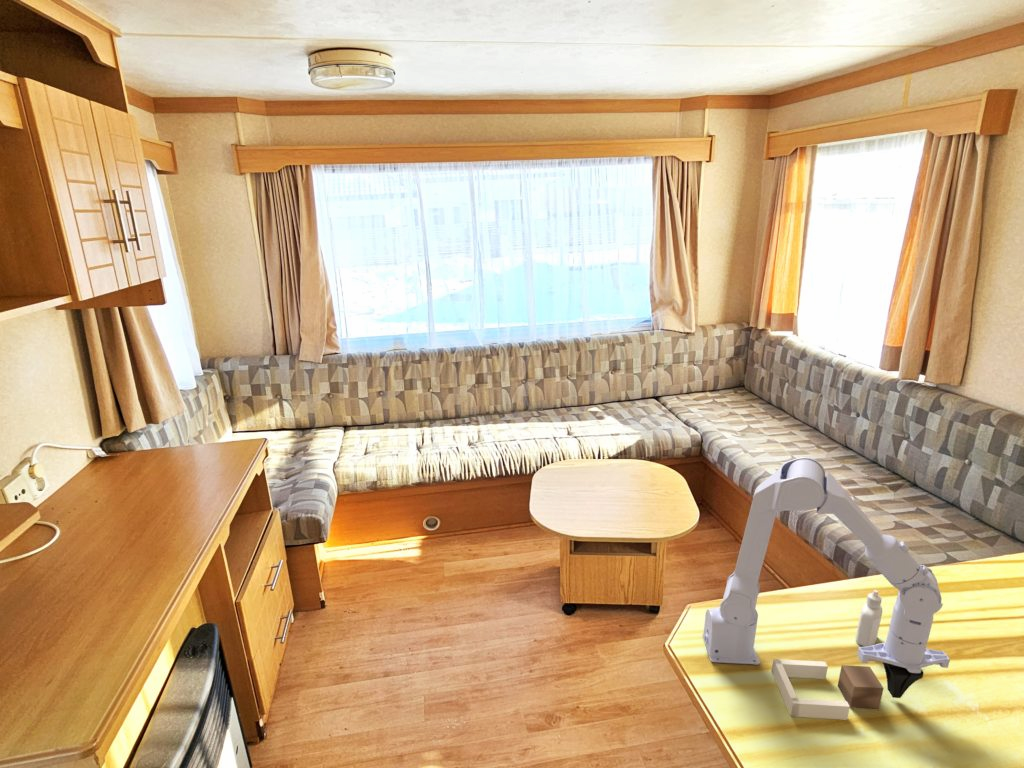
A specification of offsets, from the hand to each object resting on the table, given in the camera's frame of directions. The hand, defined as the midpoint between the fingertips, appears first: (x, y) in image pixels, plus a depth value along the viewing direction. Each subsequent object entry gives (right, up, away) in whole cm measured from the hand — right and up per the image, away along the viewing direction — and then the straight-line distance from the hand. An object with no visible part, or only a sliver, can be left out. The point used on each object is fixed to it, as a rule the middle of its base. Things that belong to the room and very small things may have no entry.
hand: (894, 693), depth 107 cm
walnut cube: (-6, -1, +1) cm, 6 cm away
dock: (-15, -1, +2) cm, 15 cm away
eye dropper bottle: (+4, +3, +15) cm, 16 cm away
